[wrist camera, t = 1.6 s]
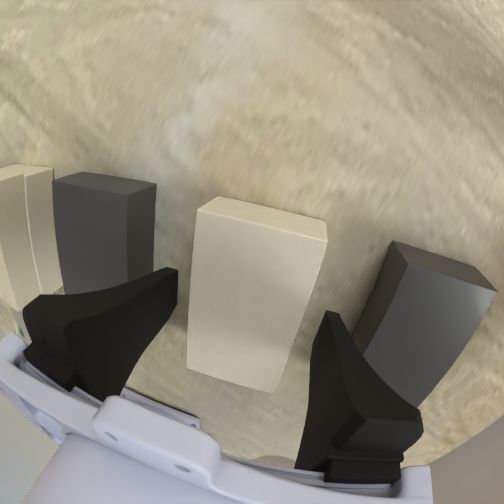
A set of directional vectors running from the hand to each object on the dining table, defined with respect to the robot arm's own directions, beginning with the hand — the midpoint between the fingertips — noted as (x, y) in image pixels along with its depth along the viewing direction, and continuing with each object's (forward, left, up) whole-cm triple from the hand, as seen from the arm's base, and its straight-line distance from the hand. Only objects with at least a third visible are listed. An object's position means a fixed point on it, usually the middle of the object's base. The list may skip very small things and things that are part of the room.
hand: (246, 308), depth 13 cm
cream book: (0, 0, -2) cm, 2 cm away
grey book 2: (0, -8, -2) cm, 9 cm away
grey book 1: (0, +9, -2) cm, 9 cm away
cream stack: (0, +17, -2) cm, 17 cm away
